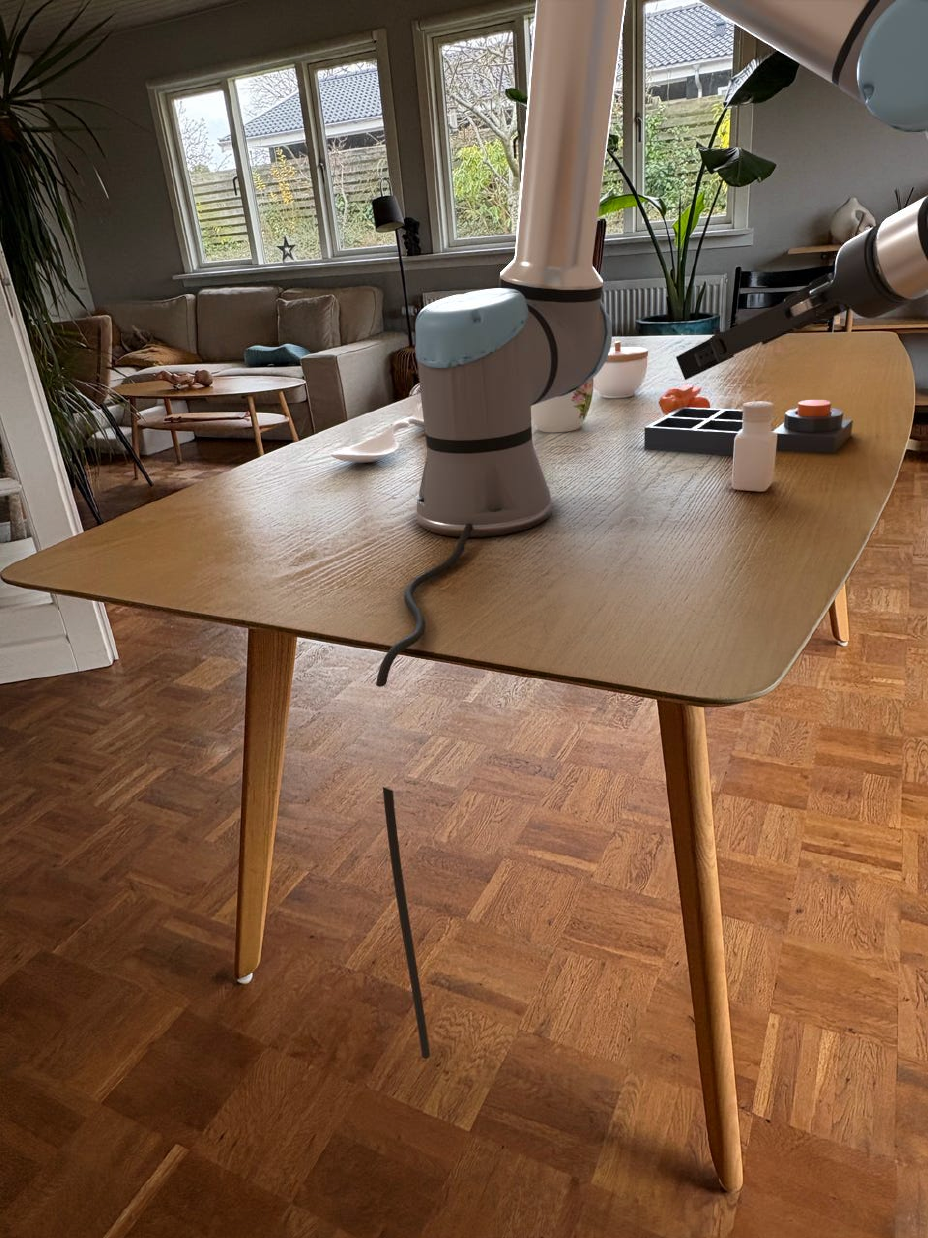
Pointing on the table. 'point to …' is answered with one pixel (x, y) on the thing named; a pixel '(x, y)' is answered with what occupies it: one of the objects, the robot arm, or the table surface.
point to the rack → (695, 431)
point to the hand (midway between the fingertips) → (722, 349)
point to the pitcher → (563, 410)
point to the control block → (813, 432)
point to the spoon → (379, 442)
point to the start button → (814, 408)
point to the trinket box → (621, 372)
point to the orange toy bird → (682, 399)
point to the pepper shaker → (754, 449)
